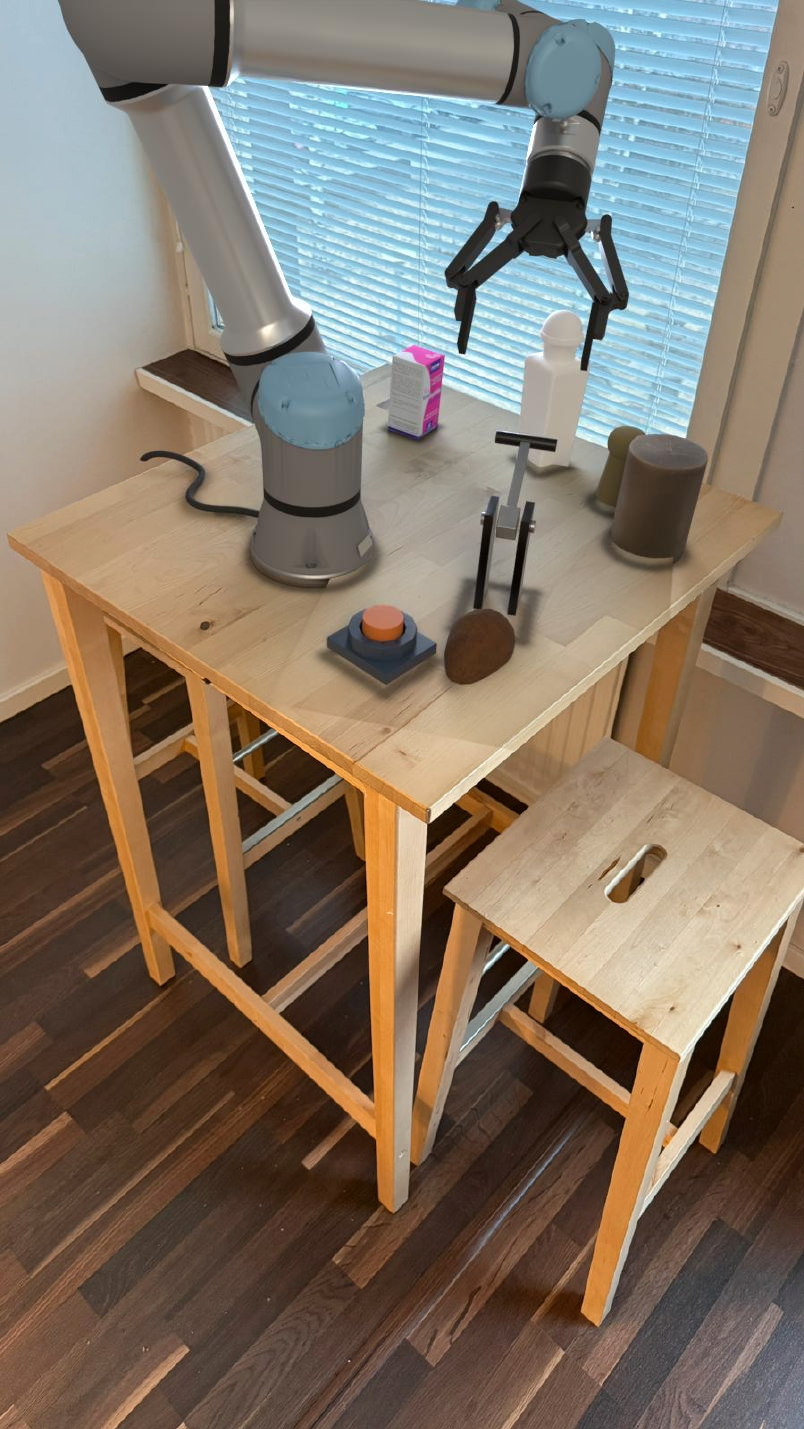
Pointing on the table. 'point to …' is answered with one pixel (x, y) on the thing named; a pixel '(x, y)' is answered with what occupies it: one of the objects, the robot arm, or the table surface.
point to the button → (382, 623)
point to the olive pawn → (616, 463)
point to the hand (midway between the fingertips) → (521, 357)
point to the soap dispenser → (554, 388)
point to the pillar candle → (658, 495)
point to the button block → (382, 649)
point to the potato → (478, 646)
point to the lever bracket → (487, 548)
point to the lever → (517, 478)
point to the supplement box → (415, 391)
